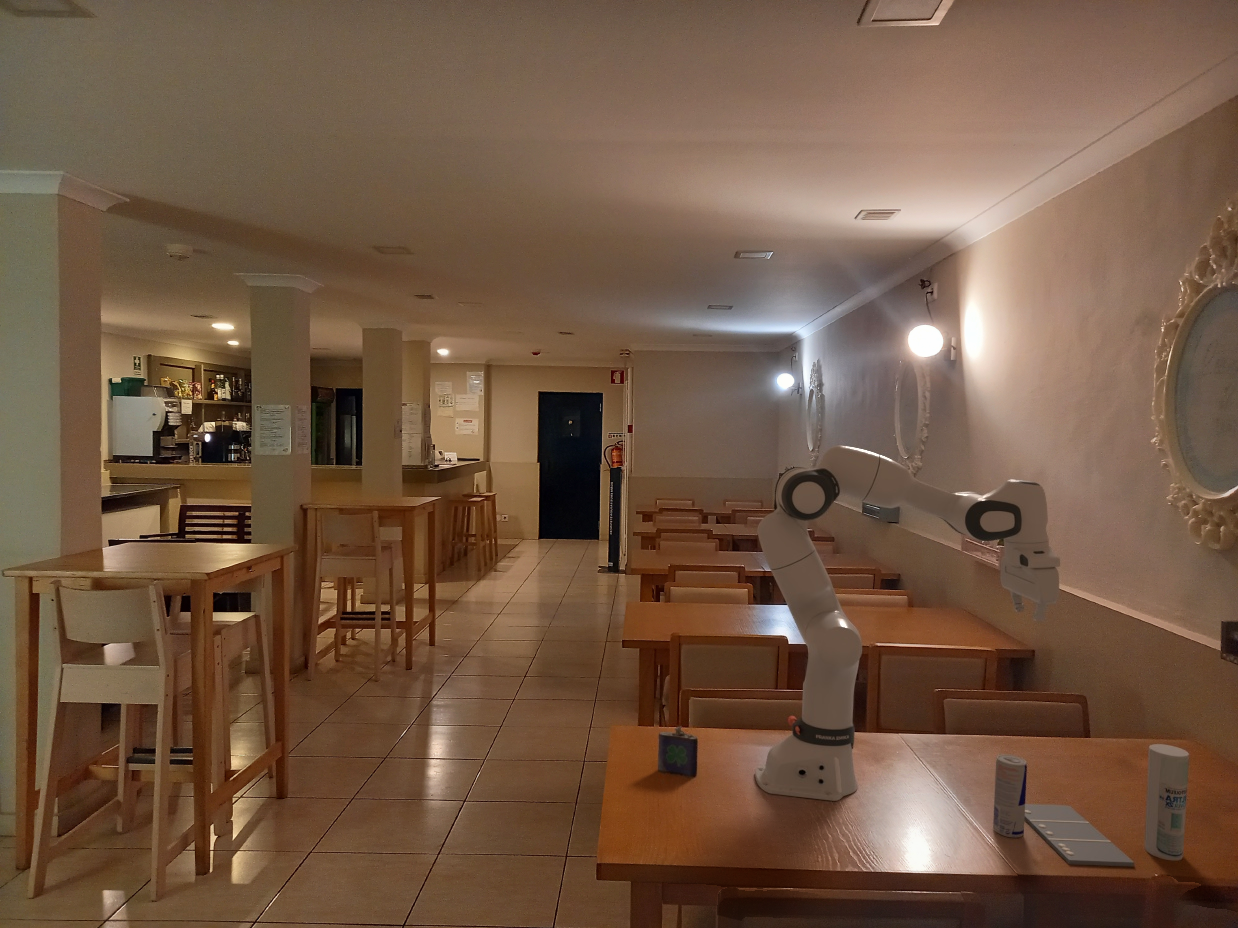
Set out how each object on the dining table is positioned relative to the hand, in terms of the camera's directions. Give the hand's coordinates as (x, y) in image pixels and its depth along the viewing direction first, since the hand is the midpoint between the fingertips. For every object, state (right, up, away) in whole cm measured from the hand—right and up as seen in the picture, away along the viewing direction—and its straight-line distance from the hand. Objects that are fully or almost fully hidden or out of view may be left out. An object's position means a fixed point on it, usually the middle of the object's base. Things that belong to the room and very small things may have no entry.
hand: (1028, 616), depth 187 cm
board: (0, -41, -16) cm, 44 cm away
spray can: (+15, -42, -23) cm, 50 cm away
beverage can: (-12, -41, -16) cm, 45 cm away
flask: (-76, -38, +9) cm, 86 cm away
